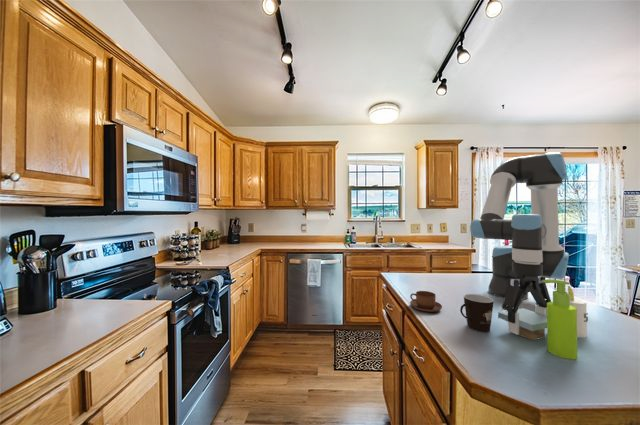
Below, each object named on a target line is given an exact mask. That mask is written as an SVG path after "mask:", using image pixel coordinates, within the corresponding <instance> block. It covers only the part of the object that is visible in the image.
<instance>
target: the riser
mask: <svg viewBox="0 0 640 425" xmlns="http://www.w3.org/2000/svg"><path fill="white" fill-rule="evenodd" d="M545 330H546V329H541V330H536V331H531V330H528V329H526V328H523V327H521V326H519V336H521V337H524V338H526V339H528V340H530V339H531V341H534V339H535V340H538V338H539V339H543V338H546V332H545Z"/></svg>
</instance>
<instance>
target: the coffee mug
mask: <svg viewBox="0 0 640 425" xmlns="http://www.w3.org/2000/svg"><path fill="white" fill-rule="evenodd" d="M463 302H464V303H463V304H461V306H460V309H459V311H460V313H461V316H463V317H464V319H466V324H467V327H468V329H470V330H473V331H476V332H479V333H480V332H481V333H488V332H491V325H492V317H493V312H494V311H493V309H494V302H495V301H494V299H493V298H491V297H490V296H486V295H482V294H475V293H467V294H463ZM463 309H464V310H465V313H464V312H463Z"/></svg>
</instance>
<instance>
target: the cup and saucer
mask: <svg viewBox="0 0 640 425" xmlns="http://www.w3.org/2000/svg"><path fill="white" fill-rule="evenodd" d="M413 296H416V297H415V298H413ZM409 297H410V302H409V303H410V305H411V307H413V308H414V309H416V310H418V311H422V312H427V313H428V312H429V313H431V312H439V311H441V310H442V308H443V306H442V304H441V303H439V302H437V301H436V299H437V298H436V297H437V296H436V293H434V292H431V291H427V290H418V291H416V292H415V293H410V296H409Z"/></svg>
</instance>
